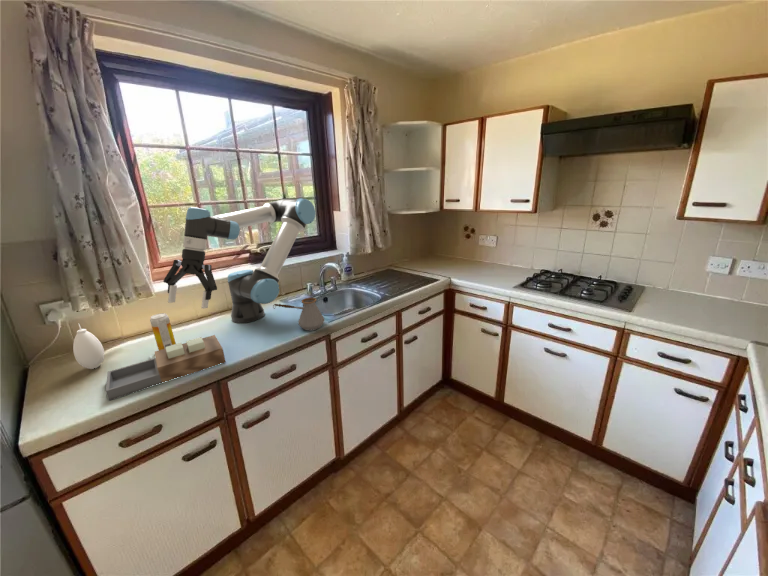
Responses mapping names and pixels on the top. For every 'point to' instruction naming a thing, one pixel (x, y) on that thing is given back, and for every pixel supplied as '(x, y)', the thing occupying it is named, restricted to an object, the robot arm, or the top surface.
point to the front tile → (175, 350)
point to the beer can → (162, 330)
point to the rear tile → (195, 344)
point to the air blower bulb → (87, 349)
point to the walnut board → (190, 359)
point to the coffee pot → (308, 314)
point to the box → (132, 378)
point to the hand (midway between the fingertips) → (187, 305)
